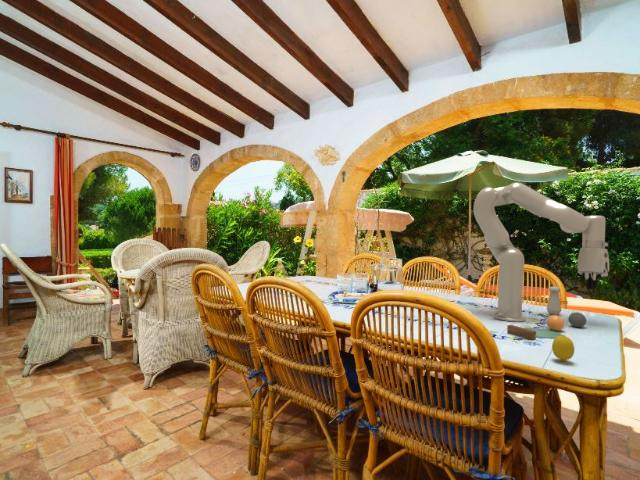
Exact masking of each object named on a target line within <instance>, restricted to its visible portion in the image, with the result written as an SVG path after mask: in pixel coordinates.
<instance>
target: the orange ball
mask: <svg viewBox="0 0 640 480" xmlns="http://www.w3.org/2000/svg"><path fill="white" fill-rule="evenodd" d="M546 326H547V327H548V328H549V330H551V331H555V332H559V331H562V330H563V329H564V327H566V325H565V321H564V319H563V318H562V317H561V316H560V315H550V316H548V317H547V319H546Z"/></svg>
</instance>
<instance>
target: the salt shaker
mask: <svg viewBox="0 0 640 480" xmlns="http://www.w3.org/2000/svg"><path fill="white" fill-rule="evenodd" d="M548 291H549V292H550V293H549V298H548V300H547V306H546V310H547V313H548V314H549V315H550V316H552V315H557V316H560V313H561V312H562V306H561V300H560V296H559V295H560V294H559V293H561V292H560V291H561V289H560V287H558V286H550V287H549V289H548Z"/></svg>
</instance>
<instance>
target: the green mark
mask: <svg viewBox="0 0 640 480" xmlns="http://www.w3.org/2000/svg"><path fill="white" fill-rule="evenodd" d="M524 328H525V329H529V330H533V331H536V338H543V339H555V338H556V337H558V336H561V335H563V334H561V332H559V331H554V330H551V329H546V328H540V327H524Z"/></svg>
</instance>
